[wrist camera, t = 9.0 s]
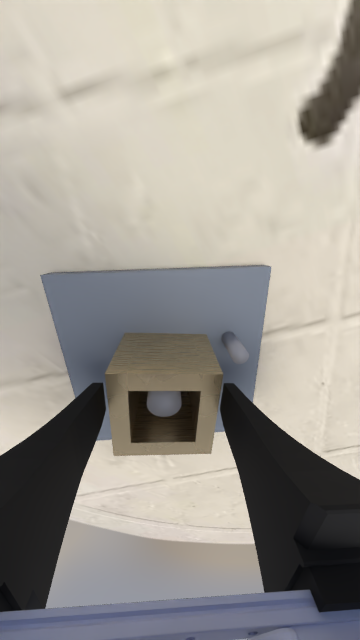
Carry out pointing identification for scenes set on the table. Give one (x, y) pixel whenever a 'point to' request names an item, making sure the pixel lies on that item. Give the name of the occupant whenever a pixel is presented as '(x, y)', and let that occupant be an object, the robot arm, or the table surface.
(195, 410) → the wooden collar
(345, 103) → the table surface
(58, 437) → the robot arm
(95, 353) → the post plate
